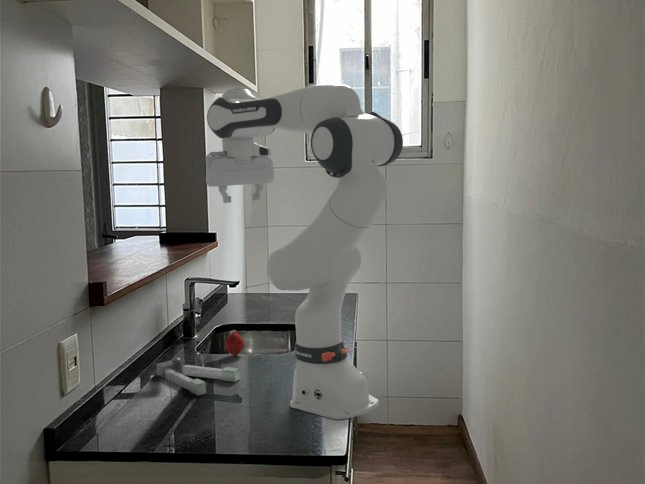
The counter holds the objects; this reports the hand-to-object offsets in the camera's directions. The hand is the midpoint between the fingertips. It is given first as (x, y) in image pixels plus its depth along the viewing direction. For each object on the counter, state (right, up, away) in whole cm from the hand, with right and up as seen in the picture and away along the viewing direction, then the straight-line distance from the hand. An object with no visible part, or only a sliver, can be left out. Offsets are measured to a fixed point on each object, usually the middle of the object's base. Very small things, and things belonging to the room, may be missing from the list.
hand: (242, 201), depth 178 cm
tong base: (-15, -49, -1) cm, 52 cm away
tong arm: (-11, -48, +2) cm, 50 cm away
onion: (-5, -46, +20) cm, 51 cm away
